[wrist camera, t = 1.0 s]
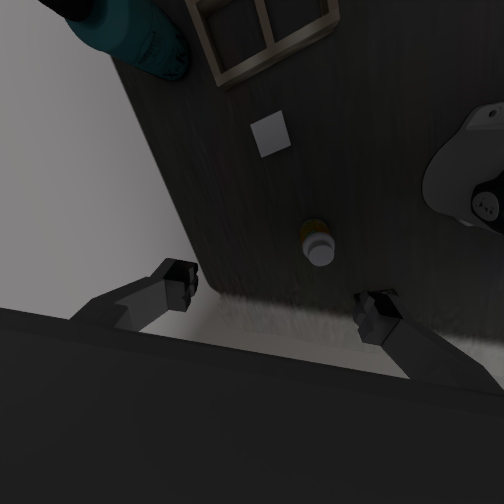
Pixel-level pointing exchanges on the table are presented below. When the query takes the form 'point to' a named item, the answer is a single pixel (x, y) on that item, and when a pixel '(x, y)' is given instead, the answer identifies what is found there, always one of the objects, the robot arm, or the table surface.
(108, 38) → the beverage bottle
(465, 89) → the table surface
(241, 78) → the socket block
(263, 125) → the plug
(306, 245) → the supplement bottle
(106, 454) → the robot arm
